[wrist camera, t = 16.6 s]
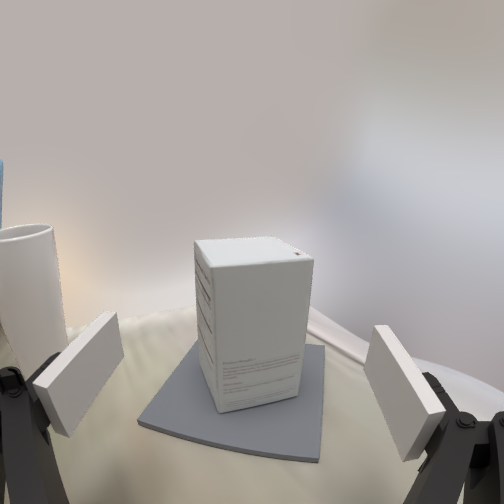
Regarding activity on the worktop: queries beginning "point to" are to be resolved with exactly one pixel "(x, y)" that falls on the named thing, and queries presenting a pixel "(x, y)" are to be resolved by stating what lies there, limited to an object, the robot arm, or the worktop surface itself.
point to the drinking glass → (31, 295)
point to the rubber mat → (242, 413)
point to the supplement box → (251, 318)
